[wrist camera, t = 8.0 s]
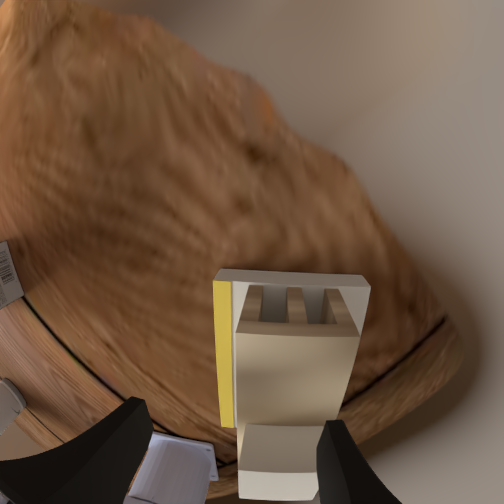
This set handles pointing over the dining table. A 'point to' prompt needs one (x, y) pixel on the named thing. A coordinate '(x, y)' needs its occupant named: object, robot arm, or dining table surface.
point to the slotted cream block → (292, 362)
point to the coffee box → (8, 278)
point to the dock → (271, 314)
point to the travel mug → (9, 403)
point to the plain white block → (279, 462)
